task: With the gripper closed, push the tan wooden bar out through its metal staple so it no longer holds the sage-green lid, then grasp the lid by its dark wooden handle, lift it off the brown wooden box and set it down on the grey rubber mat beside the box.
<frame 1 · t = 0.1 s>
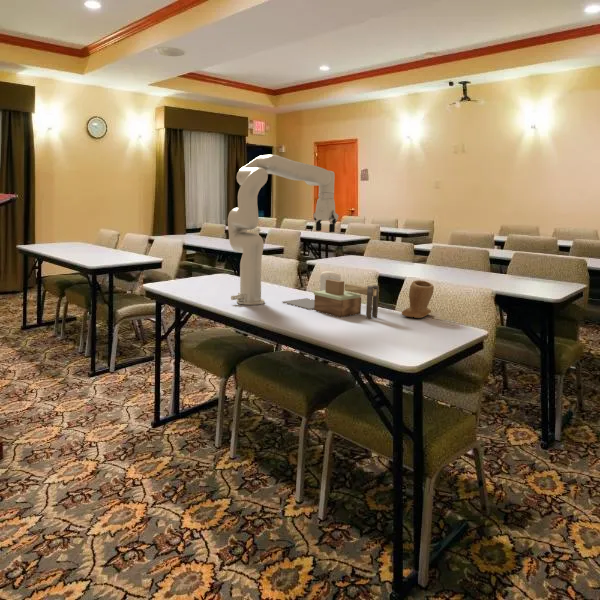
hand: (325, 231, 261), 31 cm above the table, tool pointing down, fingers open, 9 cm apart
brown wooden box: (337, 312, 223), on the table
photo printer: (329, 296, 260), on the table
stone cup: (418, 316, 219), on the table
mat: (308, 304, 238), on the table
tan wooden bar: (360, 289, 217), point 11 cm above the table, slide at 0.0 cm
lid: (336, 298, 222), point 6 cm above the table, touching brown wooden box
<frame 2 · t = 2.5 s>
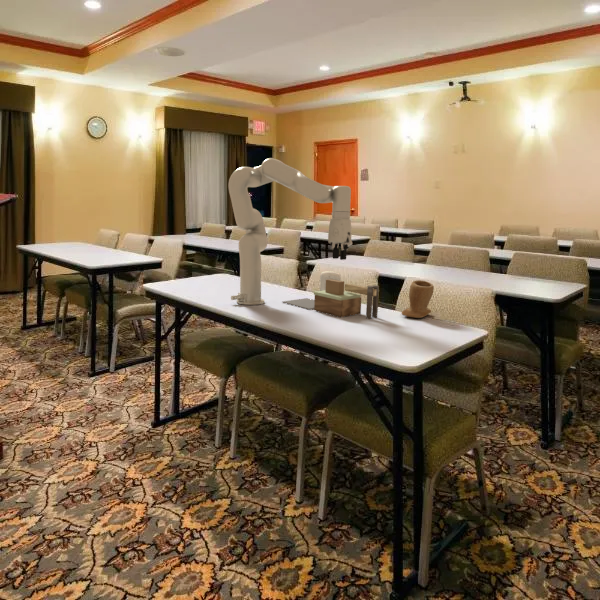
hand: (339, 258, 225), 22 cm above the table, tool pointing down, fingers open, 3 cm apart
nothing on the table moved.
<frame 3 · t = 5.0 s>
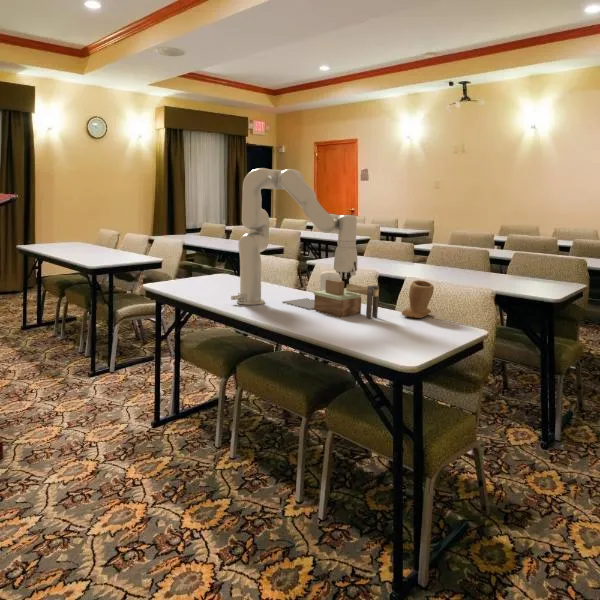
hand: (345, 287, 224), 10 cm above the table, tool pointing down, fingers closed
tan wooden bar: (361, 290, 216), point 11 cm above the table, slide at 1.0 cm, touching gripper
everything else where it was.
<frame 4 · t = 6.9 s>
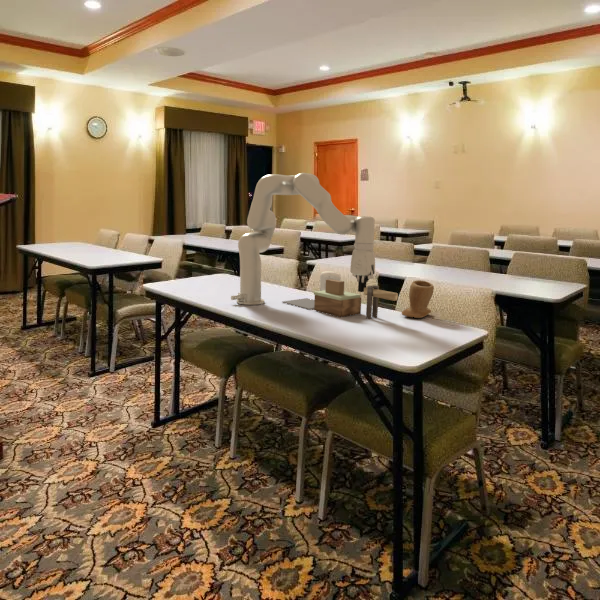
hand: (362, 291, 217), 10 cm above the table, tool pointing down, fingers closed
tan wooden bar: (380, 293, 209), point 11 cm above the table, slide at 10.9 cm, touching gripper
everything else where it was.
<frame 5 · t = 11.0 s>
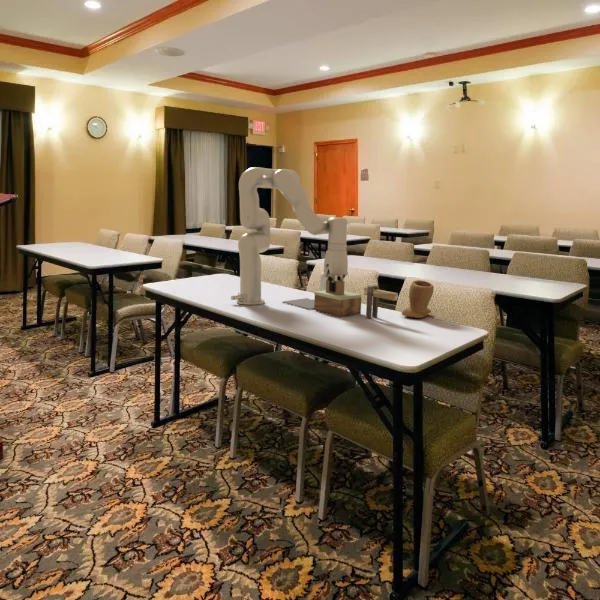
hand: (335, 290, 221), 9 cm above the table, tool pointing down, fingers closed on lid, 3 cm apart
tan wooden bar: (380, 293, 209), point 11 cm above the table, slide at 10.9 cm
lid: (337, 298, 222), point 6 cm above the table, touching gripper, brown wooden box
everything else where it was.
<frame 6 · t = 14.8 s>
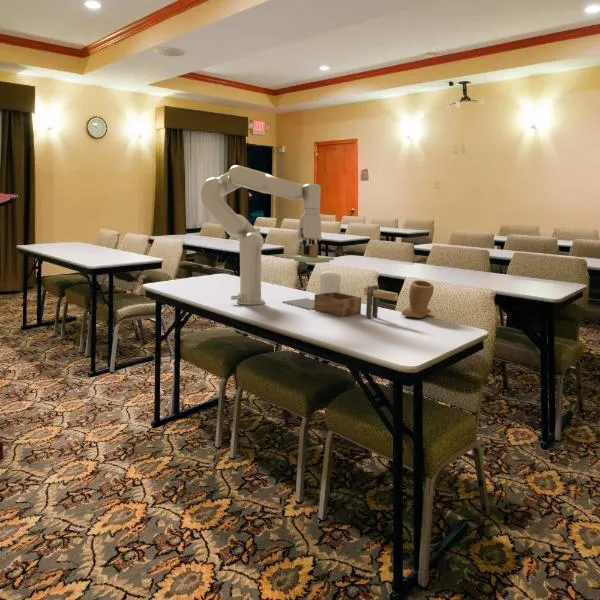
hand: (309, 254, 233), 23 cm above the table, tool pointing down, fingers closed on lid, 3 cm apart
lid: (311, 261, 235), point 19 cm above the table, touching gripper
everything else where it was.
when the fingers open (5 cm above the table, at t = 18.6 s): lid drops 1 cm, resting on mat.
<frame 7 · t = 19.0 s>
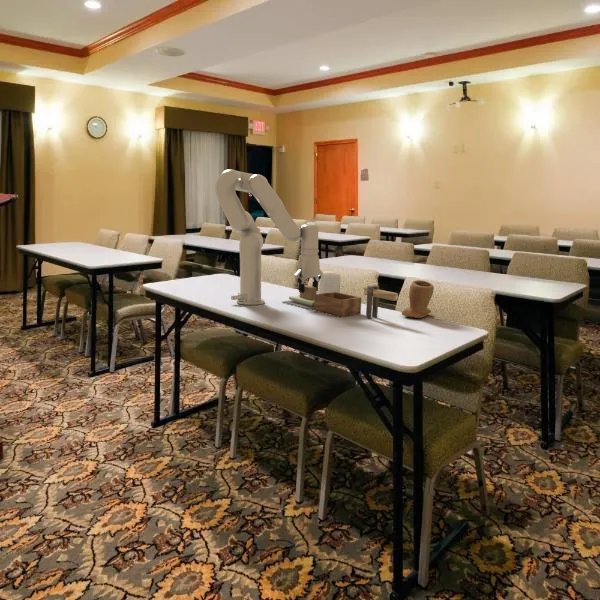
hand: (308, 291, 237), 6 cm above the table, tool pointing down, fingers open, 7 cm apart
lid: (310, 302, 239), resting on mat
everything else where it was.
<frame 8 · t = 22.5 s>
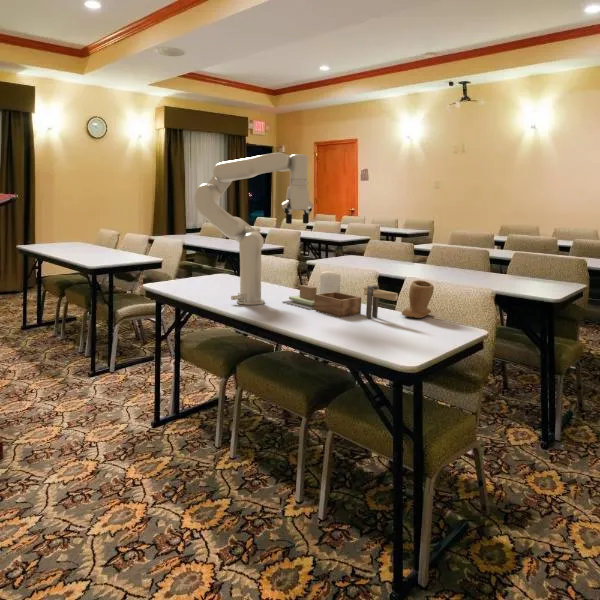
hand: (297, 223, 231), 36 cm above the table, tool pointing down, fingers open, 9 cm apart
nothing on the table moved.
at the end: tan wooden bar slide at 10.9 cm; lid inside the target area (1.4 cm from its centre), point 0.5 cm above the table; lid tilted 0° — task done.
